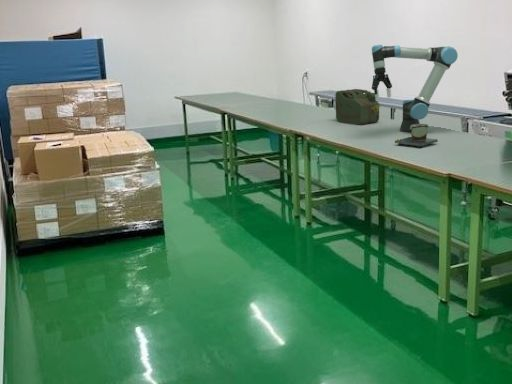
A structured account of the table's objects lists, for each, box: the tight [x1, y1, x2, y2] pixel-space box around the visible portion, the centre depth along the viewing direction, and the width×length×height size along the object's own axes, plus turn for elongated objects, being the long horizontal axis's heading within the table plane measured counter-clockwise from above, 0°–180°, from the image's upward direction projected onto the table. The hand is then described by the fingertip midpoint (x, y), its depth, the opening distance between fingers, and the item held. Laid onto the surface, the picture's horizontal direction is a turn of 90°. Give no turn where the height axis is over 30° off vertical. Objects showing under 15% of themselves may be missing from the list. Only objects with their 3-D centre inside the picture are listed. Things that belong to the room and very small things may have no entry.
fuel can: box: [334, 88, 380, 126], centre depth 453 cm, size 19×35×27 cm, turn 28°
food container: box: [410, 123, 429, 141], centre depth 346 cm, size 12×6×10 cm, turn 102°
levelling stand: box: [394, 136, 439, 149], centre depth 348 cm, size 18×20×4 cm
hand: (383, 98), depth 374 cm, fingers open, 13 cm apart
